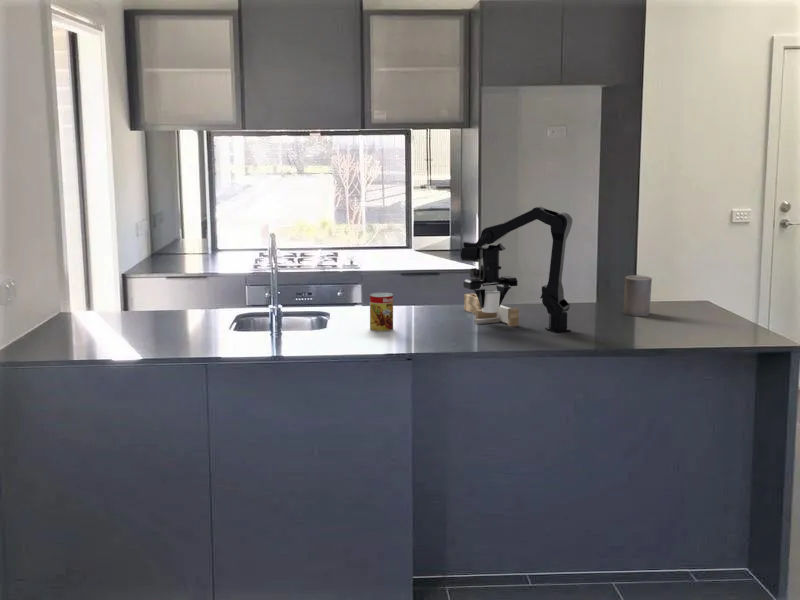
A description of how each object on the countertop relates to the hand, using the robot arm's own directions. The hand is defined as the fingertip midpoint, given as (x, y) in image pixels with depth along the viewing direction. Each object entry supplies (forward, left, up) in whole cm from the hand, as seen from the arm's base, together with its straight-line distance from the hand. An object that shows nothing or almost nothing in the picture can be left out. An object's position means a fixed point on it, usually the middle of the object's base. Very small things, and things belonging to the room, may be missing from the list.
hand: (490, 307), depth 330 cm
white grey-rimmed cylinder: (0, 0, -2) cm, 2 cm away
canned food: (+8, +38, -6) cm, 39 cm away
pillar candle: (-5, -59, -6) cm, 60 cm away
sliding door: (+5, -2, -6) cm, 8 cm away
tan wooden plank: (+10, -2, -6) cm, 12 cm away
